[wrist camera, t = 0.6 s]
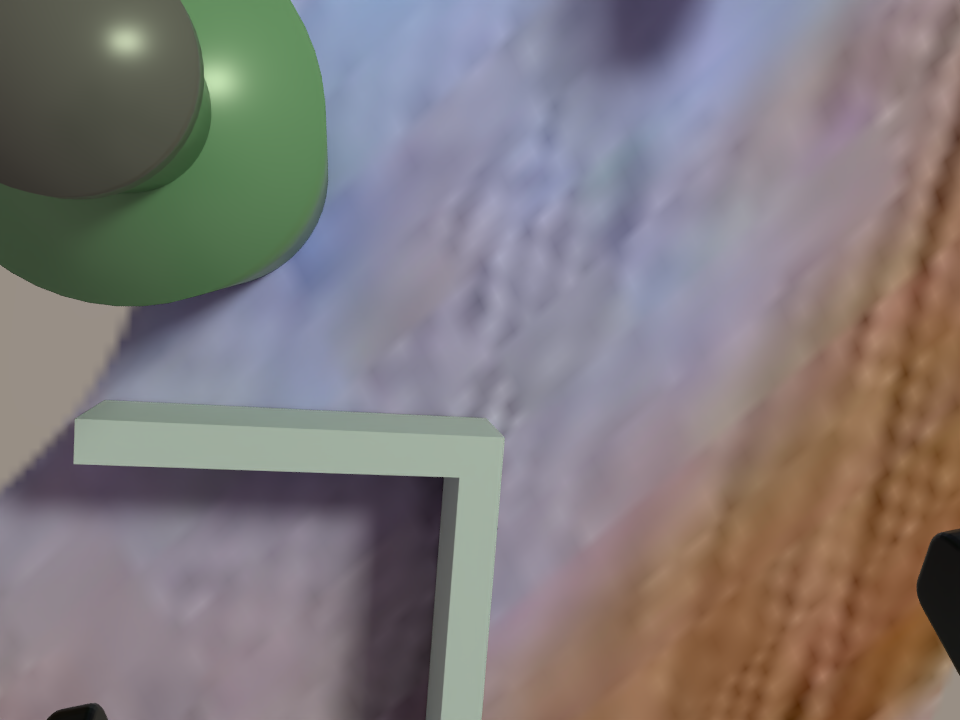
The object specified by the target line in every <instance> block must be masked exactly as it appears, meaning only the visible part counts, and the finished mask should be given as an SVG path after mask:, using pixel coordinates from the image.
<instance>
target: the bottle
mask: <svg viewBox="0 0 960 720" xmlns="http://www.w3.org/2000/svg"><path fill="white" fill-rule="evenodd" d="M327 186H328V156H327V134H326V111H325V98H324V90H323V83H322V76H321V72H320V69H319V65H318V61H317V57H316V54H315V50H314V48H313V45H312V43H311V40H310V38H309V35H308V33H307V30H306V28H305V26H304V24H303V22H302V20H301V18H300V17H299V15H298V13H297V11H296V9H295V8H294V6H293V4H292V2H291V1H290V0H0V265H1V266H3V267H4V268H6V269H7V270H9V271H10V272H12V273H13V274H16V275H17V276H19V277H21V278H23V279H25V280H26V281H28V282H30V283H32V284H34V285H36V286H38V287H41V288H44V289H46V290H49V291H51V292H54V293H56V294H59V295H61V296H65V297H69V298H73V299H77V300H81V301H85V302H89V303H96V304H105V305H112V306H148V305H156V304H164V303H171V302H175V301H179V300H183V299H187V298H190V297H194V296H198V295H202V294H205V293H209V292H213V291H216V290H220V289H223V288H227V287H231V286H234V285H238V284H242V283H245V282H249V281H252V280H255V279H257V278H260V277H262V276H265V275H267V274H268V273H270V272H272V271H274V270H275V269H277V268H279V267H280V266H281V265H283V264H284V263H285V262H287V261H288V260H290V259H291V258H292V257H293V256H294V255H295V254H296V253H297V252H298V251H299V250H300V249H301V248H302V246H303V245H304V244H305V242H306V241H307V240H308V238H309V237H310V235H311V234H312V232H313V230H314V229H315V227H316V225H317V223H318V220H319V218H320V216H321V213H322V211H323V207H324V203H325V199H326V194H327Z"/></svg>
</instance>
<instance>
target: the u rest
mask: <svg viewBox="0 0 960 720" xmlns="http://www.w3.org/2000/svg"><path fill="white" fill-rule="evenodd" d="M504 439H505V438H504V436H503V435H502V434H501V433H500V432H499V431H498V430H497V429H496V428H495V427H494V426H493V425H492V424H491V423H490V422H489V421H488V420H487V419H486V418H468V417H447V416H426V415H405V414H384V413H363V412H342V411H321V410H300V409H279V408H258V407H237V406H216V405H195V404H174V403H153V402H132V401H112V400H104V401H103V402H101V403H99V404H98V405H96V406H95V407H93V408H91V409H90V410H88V411H87V412H85V413H83V414H82V415H80V416H79V417H77V418H75V430H74V464H85V465H113V466H142V467H170V468H199V469H227V470H256V471H284V472H313V473H341V474H370V475H398V476H427V477H444V483H443V497H442V510H441V523H440V536H439V550H438V563H437V576H436V590H435V603H434V616H433V630H432V643H431V656H430V670H429V683H428V696H427V709H426V720H481V719H482V706H483V694H484V682H485V670H486V658H487V646H488V633H489V621H490V609H491V597H492V585H493V573H494V560H495V548H496V536H497V524H498V512H499V500H500V487H501V475H502V463H503V451H504Z"/></svg>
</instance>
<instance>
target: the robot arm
mask: <svg viewBox="0 0 960 720" xmlns="http://www.w3.org/2000/svg"><path fill="white" fill-rule="evenodd" d="M917 595H918V598H919V601H920V604H921V606H922V608H923V610H924V612H925V614H926V615H927V617H928V619H929V621H930V623H931V624H932V626H933V628H934V630H935V632H936V634H937V635H938V637H939V639H940V641H941V643H942V644H943V646H944V648H945V650H946V652H947V653H948V655H949V657H950V659H951V661H952V663H953V664H954V666H955V668H956V670H957V672H958V673H959V675H960V529H956V530H951V531H946V532H941V533H938V534H937V535H936V536H934V537H933V539H932V540H931V542H930V545H929V548H928V551H927V554H926V557H925V560H924V563H923V565H922V568H921V571H920V574H919V577H918V580H917ZM47 720H108V719H107V716H106V714H105V712H104V710H103V708H102V707H101V706H100V705H99V704H96V703H90V704H85V705H80V706H75V707H70V708H65V709H61V710H58V711H56V712H54V713H53V714H52V715H51V716H50V717H48V719H47Z"/></svg>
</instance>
